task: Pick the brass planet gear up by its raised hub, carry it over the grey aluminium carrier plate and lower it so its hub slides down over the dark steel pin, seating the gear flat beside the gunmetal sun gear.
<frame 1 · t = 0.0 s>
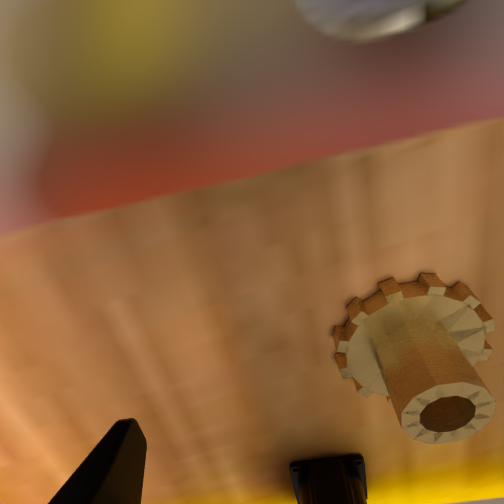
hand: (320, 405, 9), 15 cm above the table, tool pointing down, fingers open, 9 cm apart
planet gear: (406, 335, 27), on the table
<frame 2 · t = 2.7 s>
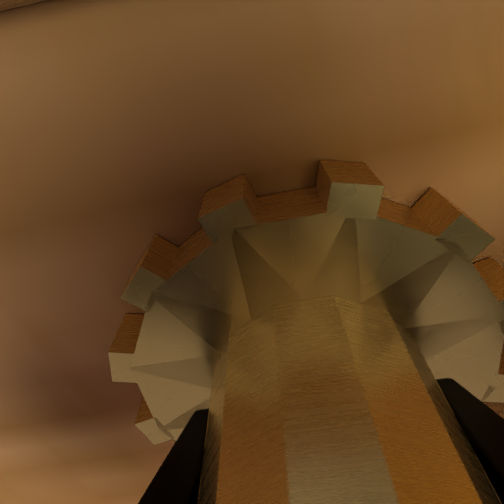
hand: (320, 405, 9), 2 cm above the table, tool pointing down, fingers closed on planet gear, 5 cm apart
planet gear: (308, 338, 11), on the table, touching gripper
when the fingers open (5 cm above the table, at t = 7.6 s): planet gear drops 1 cm, resting on carrier plate.
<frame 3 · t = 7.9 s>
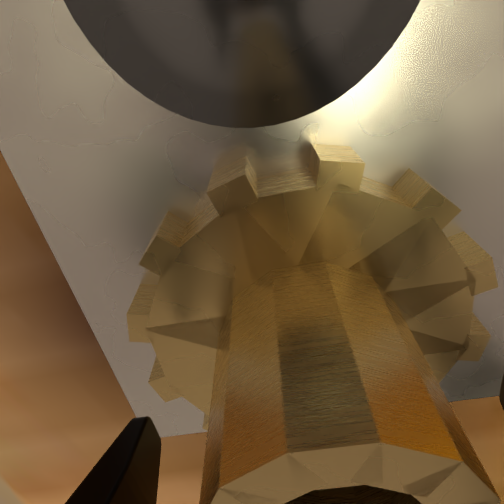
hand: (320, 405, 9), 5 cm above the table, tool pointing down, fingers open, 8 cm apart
planet gear: (303, 306, 12), point 1 cm above the table, touching carrier plate
carrier plate: (278, 158, 11), on the table
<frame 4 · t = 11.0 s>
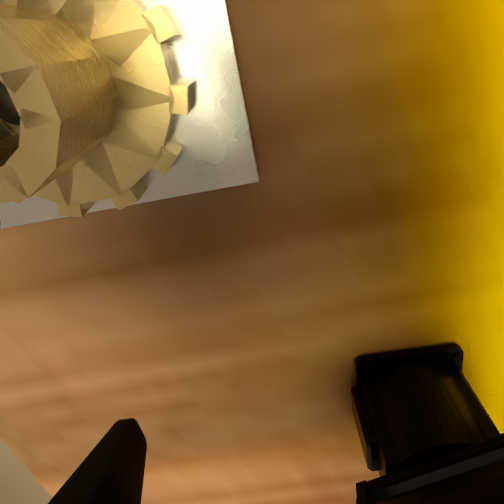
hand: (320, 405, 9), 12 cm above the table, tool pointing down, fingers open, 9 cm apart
planet gear: (65, 85, 16), point 1 cm above the table, touching carrier plate
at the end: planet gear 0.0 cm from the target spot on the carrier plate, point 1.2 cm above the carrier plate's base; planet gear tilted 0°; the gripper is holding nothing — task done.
